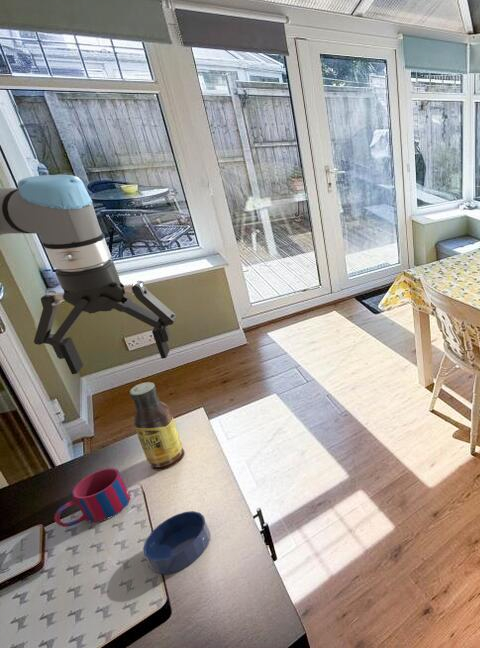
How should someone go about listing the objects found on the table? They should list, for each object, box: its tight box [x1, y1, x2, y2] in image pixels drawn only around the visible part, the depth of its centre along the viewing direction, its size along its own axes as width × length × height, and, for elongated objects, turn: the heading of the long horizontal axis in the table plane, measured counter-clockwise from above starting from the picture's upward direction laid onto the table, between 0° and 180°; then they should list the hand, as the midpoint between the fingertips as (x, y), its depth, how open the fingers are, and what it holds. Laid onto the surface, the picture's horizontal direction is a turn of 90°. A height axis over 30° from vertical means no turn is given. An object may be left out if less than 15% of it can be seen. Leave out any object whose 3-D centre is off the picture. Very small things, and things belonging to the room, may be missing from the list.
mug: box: [53, 467, 131, 528], centre depth 79 cm, size 7×10×7 cm
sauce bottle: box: [129, 381, 184, 467], centre depth 89 cm, size 6×6×20 cm
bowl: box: [142, 510, 211, 575], centre depth 75 cm, size 9×9×4 cm
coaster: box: [150, 449, 186, 471], centre depth 93 cm, size 6×6×1 cm
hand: (123, 362), depth 82 cm, fingers open, 13 cm apart
